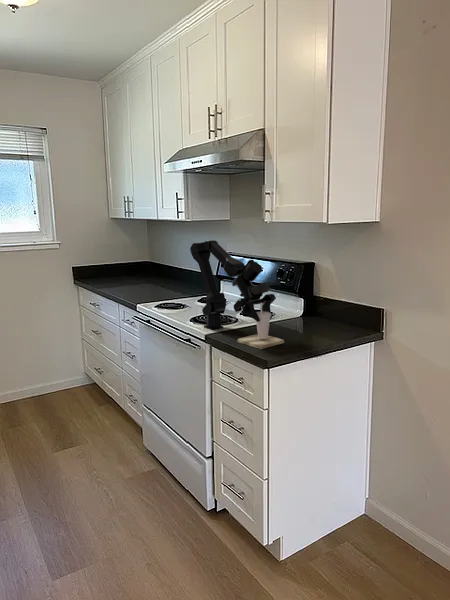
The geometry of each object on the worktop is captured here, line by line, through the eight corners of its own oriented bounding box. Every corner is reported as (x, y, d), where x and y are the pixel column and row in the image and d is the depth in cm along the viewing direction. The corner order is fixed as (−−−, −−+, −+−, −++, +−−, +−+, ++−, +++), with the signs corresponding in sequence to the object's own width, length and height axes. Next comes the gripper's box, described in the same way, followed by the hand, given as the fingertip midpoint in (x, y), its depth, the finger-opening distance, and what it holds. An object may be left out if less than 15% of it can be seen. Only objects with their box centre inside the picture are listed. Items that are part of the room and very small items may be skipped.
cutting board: (237, 341, 181) (237, 338, 180) (260, 336, 189) (260, 333, 189) (261, 349, 171) (261, 346, 171) (283, 342, 180) (283, 339, 179)
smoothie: (254, 334, 182) (253, 301, 179) (270, 334, 183) (270, 300, 179) (255, 339, 176) (255, 304, 173) (272, 339, 176) (272, 304, 173)
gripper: (238, 277, 171) (258, 311, 165) (273, 273, 183) (292, 305, 177) (225, 295, 179) (243, 328, 173) (259, 290, 191) (277, 320, 185)
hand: (265, 320), depth 177 cm, fingers closed on smoothie, 6 cm apart
